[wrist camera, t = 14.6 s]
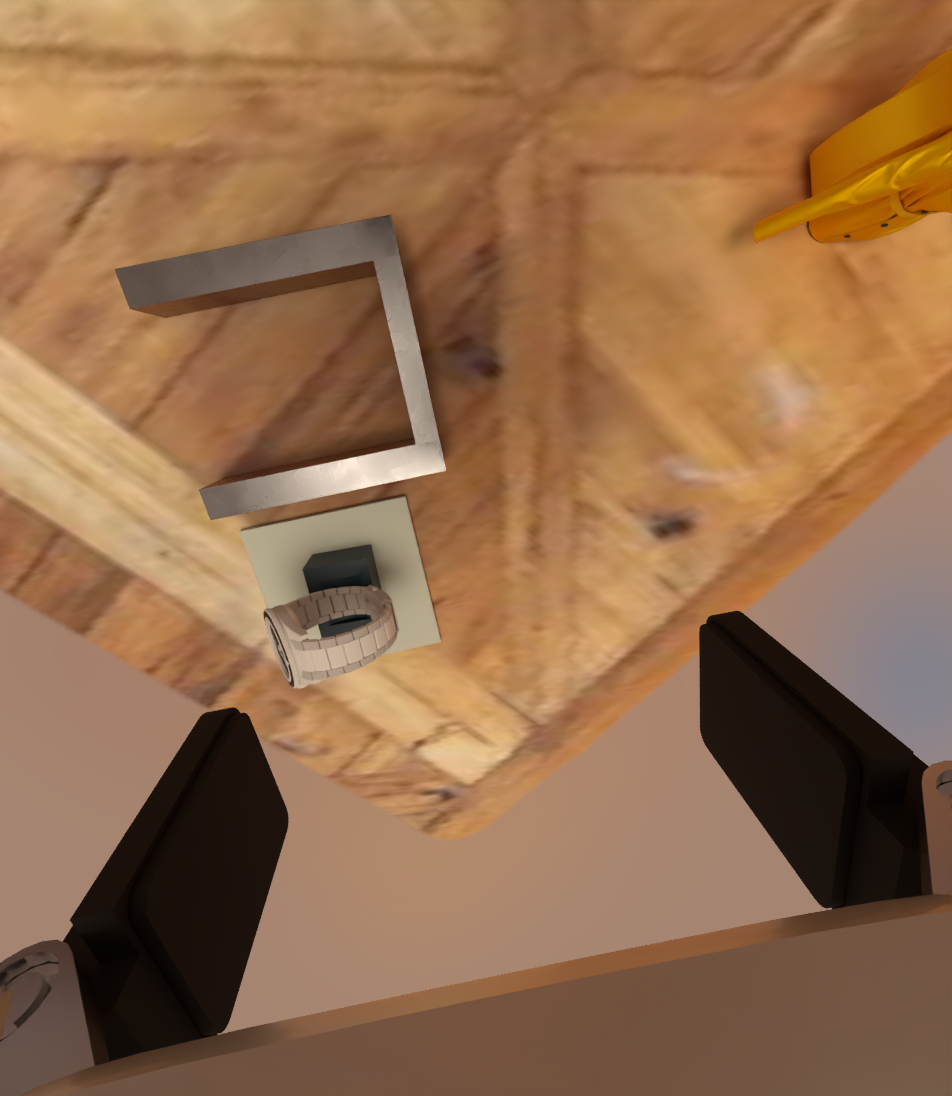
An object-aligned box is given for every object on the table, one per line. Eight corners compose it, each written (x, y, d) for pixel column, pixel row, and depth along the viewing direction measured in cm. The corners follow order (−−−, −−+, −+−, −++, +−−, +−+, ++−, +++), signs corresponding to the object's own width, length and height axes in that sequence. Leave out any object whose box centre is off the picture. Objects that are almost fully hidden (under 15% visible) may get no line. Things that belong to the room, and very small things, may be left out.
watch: (285, 558, 37) (229, 628, 26) (395, 540, 37) (382, 601, 27) (305, 626, 39) (260, 717, 28) (409, 608, 39) (402, 691, 28)
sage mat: (242, 529, 36) (239, 531, 36) (405, 494, 37) (405, 496, 36) (293, 670, 40) (291, 674, 40) (440, 638, 41) (440, 642, 40)
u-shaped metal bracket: (152, 282, 31) (114, 269, 27) (395, 234, 32) (390, 214, 28) (233, 505, 36) (210, 520, 32) (444, 461, 36) (446, 470, 32)
